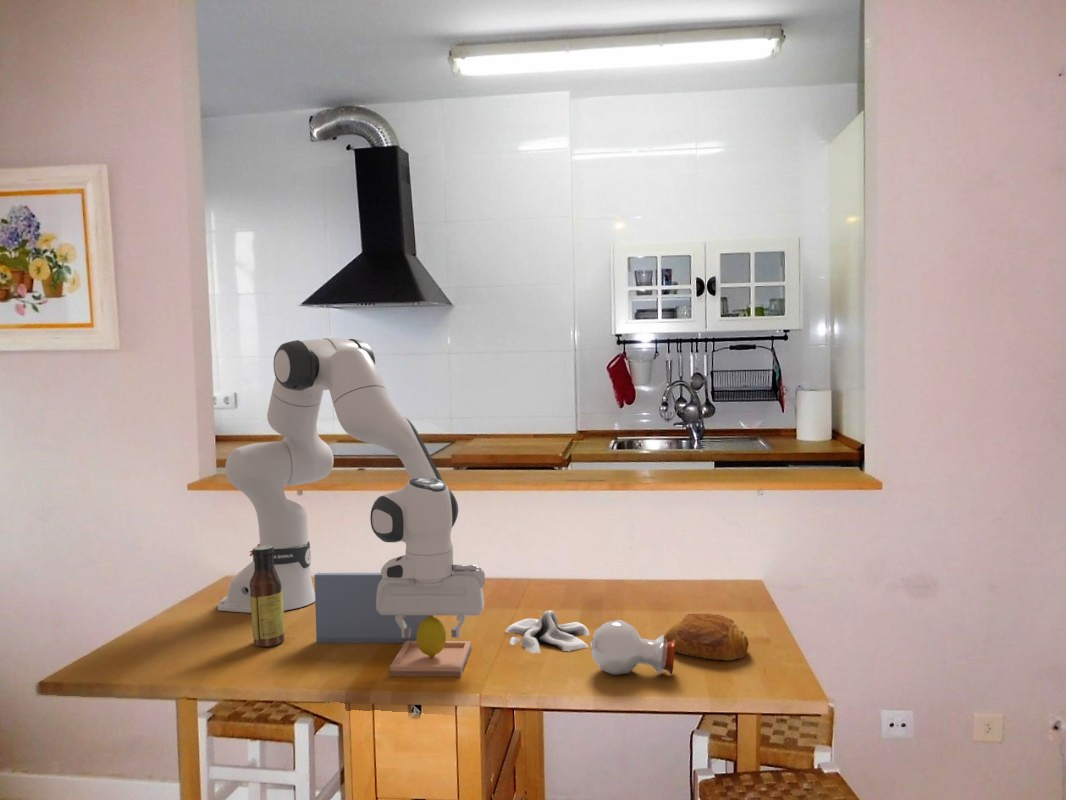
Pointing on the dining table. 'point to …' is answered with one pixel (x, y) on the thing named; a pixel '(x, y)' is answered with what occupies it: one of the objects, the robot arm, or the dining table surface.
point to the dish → (431, 660)
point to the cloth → (548, 633)
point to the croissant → (708, 637)
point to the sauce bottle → (266, 600)
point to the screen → (355, 611)
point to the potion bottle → (629, 649)
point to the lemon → (431, 636)
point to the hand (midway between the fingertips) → (431, 637)
